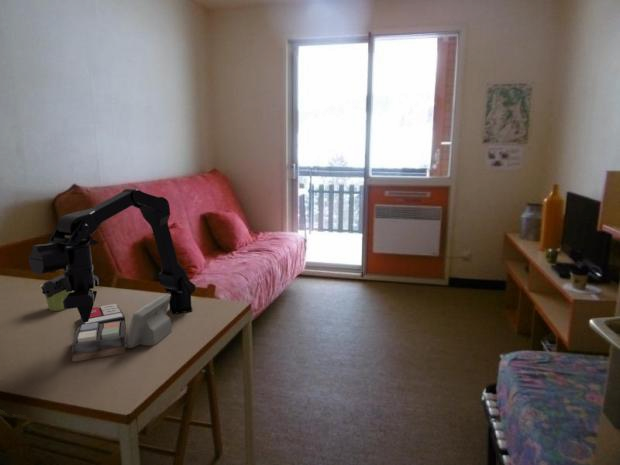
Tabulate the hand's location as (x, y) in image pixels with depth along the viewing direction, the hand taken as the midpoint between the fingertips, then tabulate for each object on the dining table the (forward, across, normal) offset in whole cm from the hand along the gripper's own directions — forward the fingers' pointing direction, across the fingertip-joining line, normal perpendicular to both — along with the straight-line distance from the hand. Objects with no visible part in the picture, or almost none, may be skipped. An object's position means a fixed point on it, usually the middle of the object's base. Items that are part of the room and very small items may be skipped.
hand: (86, 321), depth 105 cm
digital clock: (+9, -3, +15) cm, 18 cm away
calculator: (+9, -19, +2) cm, 22 cm away
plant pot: (+9, -39, -12) cm, 42 cm away
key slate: (+6, -5, 0) cm, 8 cm away
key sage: (+6, 0, +5) cm, 8 cm away
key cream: (+6, 0, 0) cm, 6 cm away
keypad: (+8, -3, +3) cm, 9 cm away
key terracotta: (+6, -5, +6) cm, 10 cm away
